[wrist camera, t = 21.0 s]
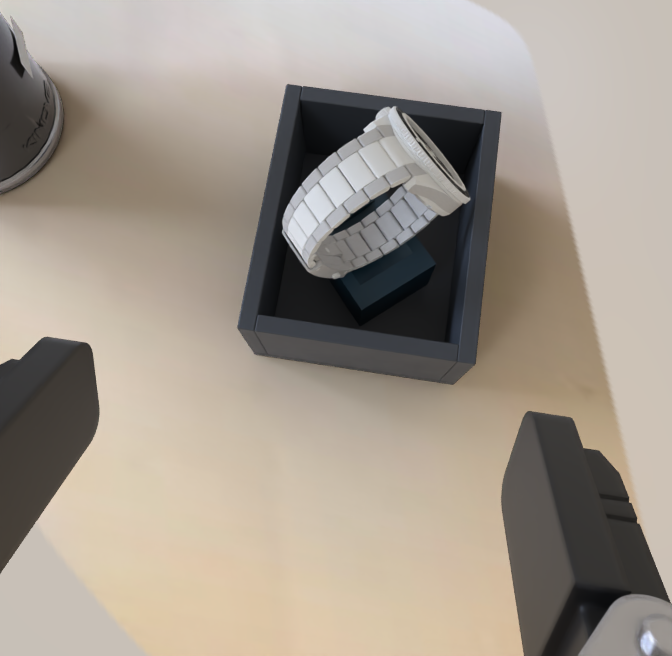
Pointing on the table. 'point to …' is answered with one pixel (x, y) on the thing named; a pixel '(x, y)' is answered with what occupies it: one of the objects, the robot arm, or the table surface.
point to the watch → (373, 214)
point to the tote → (437, 237)
